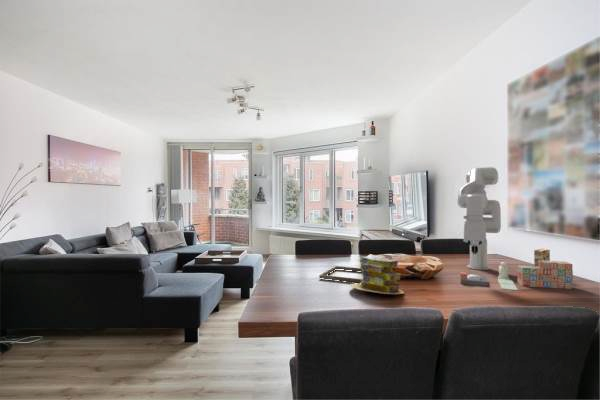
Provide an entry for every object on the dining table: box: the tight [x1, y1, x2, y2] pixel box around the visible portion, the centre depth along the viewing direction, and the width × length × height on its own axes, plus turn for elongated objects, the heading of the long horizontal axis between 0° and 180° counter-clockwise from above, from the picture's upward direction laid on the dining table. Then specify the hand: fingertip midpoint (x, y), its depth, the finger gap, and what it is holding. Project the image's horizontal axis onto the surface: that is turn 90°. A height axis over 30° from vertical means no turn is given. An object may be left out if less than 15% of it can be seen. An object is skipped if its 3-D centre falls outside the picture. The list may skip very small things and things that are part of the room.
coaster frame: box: [318, 265, 363, 283], centre depth 185 cm, size 26×26×2 cm
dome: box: [467, 274, 481, 280], centre depth 171 cm, size 6×6×3 cm
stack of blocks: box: [516, 260, 574, 290], centre depth 164 cm, size 21×6×12 cm, turn 76°
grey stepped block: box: [460, 271, 489, 287], centre depth 171 cm, size 12×12×6 cm
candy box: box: [533, 248, 551, 266], centre depth 179 cm, size 9×4×15 cm, turn 121°
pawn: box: [497, 261, 510, 279], centre depth 179 cm, size 5×5×9 cm
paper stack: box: [349, 253, 404, 295], centre depth 155 cm, size 25×25×17 cm
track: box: [497, 277, 519, 292], centre depth 166 cm, size 21×6×1 cm, turn 154°
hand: (474, 253), depth 171 cm, fingers closed
